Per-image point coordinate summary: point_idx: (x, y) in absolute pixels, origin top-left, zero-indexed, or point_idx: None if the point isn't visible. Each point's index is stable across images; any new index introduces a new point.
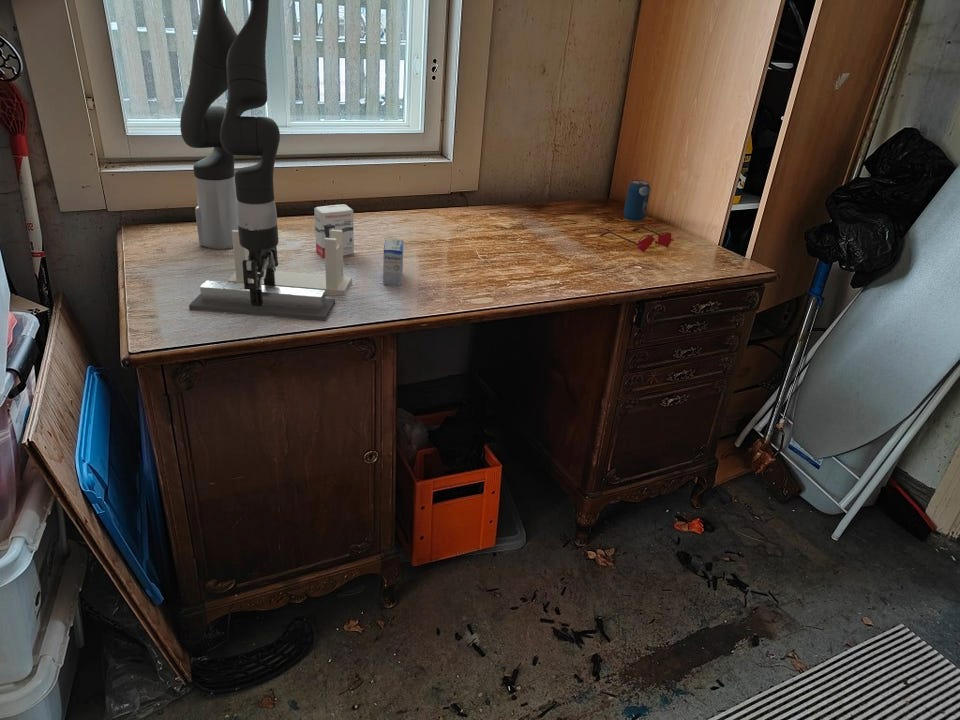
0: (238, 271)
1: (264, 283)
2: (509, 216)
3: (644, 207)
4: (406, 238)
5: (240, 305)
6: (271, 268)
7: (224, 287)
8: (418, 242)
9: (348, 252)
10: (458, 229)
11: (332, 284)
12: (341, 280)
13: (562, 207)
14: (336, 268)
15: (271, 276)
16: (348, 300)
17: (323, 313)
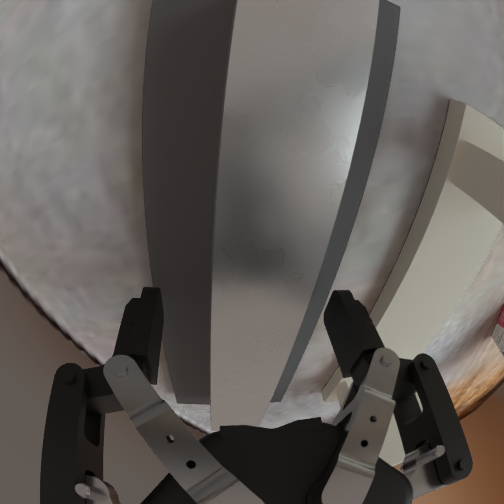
0: (491, 170)
1: (343, 308)
2: (480, 395)
3: None
4: (493, 361)
5: (190, 208)
6: (342, 407)
7: (249, 138)
8: (476, 375)
9: (494, 334)
10: (481, 384)
11: (342, 397)
12: None
13: (472, 407)
14: None
15: (344, 361)
16: (295, 399)
17: (192, 400)
